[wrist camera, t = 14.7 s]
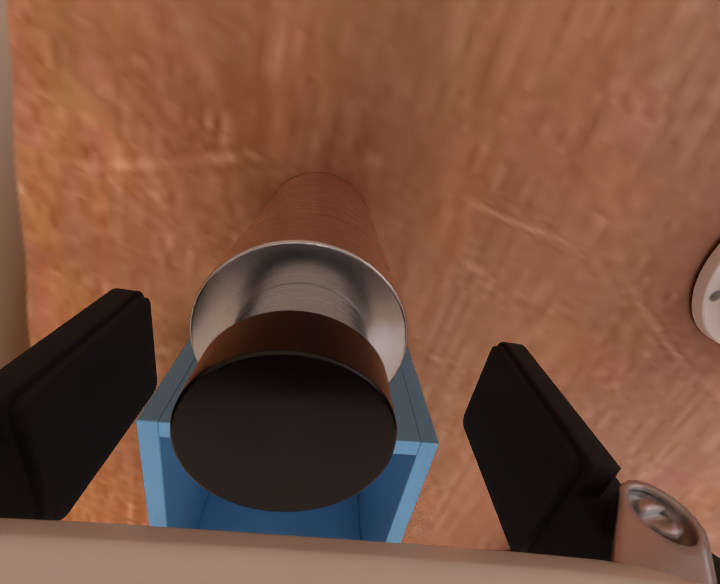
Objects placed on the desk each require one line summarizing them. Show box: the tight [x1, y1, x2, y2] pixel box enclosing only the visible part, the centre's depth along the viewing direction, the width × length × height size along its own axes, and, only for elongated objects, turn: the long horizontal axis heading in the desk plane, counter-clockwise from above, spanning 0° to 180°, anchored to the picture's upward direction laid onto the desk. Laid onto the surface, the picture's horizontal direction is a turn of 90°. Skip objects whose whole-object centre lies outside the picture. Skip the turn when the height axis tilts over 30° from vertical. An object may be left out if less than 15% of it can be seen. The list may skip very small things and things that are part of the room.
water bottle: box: [170, 172, 408, 512], centre depth 15 cm, size 6×6×17 cm
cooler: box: [136, 338, 439, 543], centre depth 25 cm, size 17×15×9 cm
